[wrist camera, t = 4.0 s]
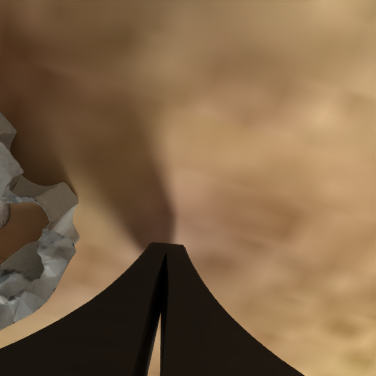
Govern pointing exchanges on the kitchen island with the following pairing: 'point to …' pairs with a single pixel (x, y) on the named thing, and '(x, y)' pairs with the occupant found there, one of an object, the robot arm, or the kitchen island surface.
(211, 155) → the kitchen island surface
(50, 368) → the robot arm
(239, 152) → the kitchen island surface
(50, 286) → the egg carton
